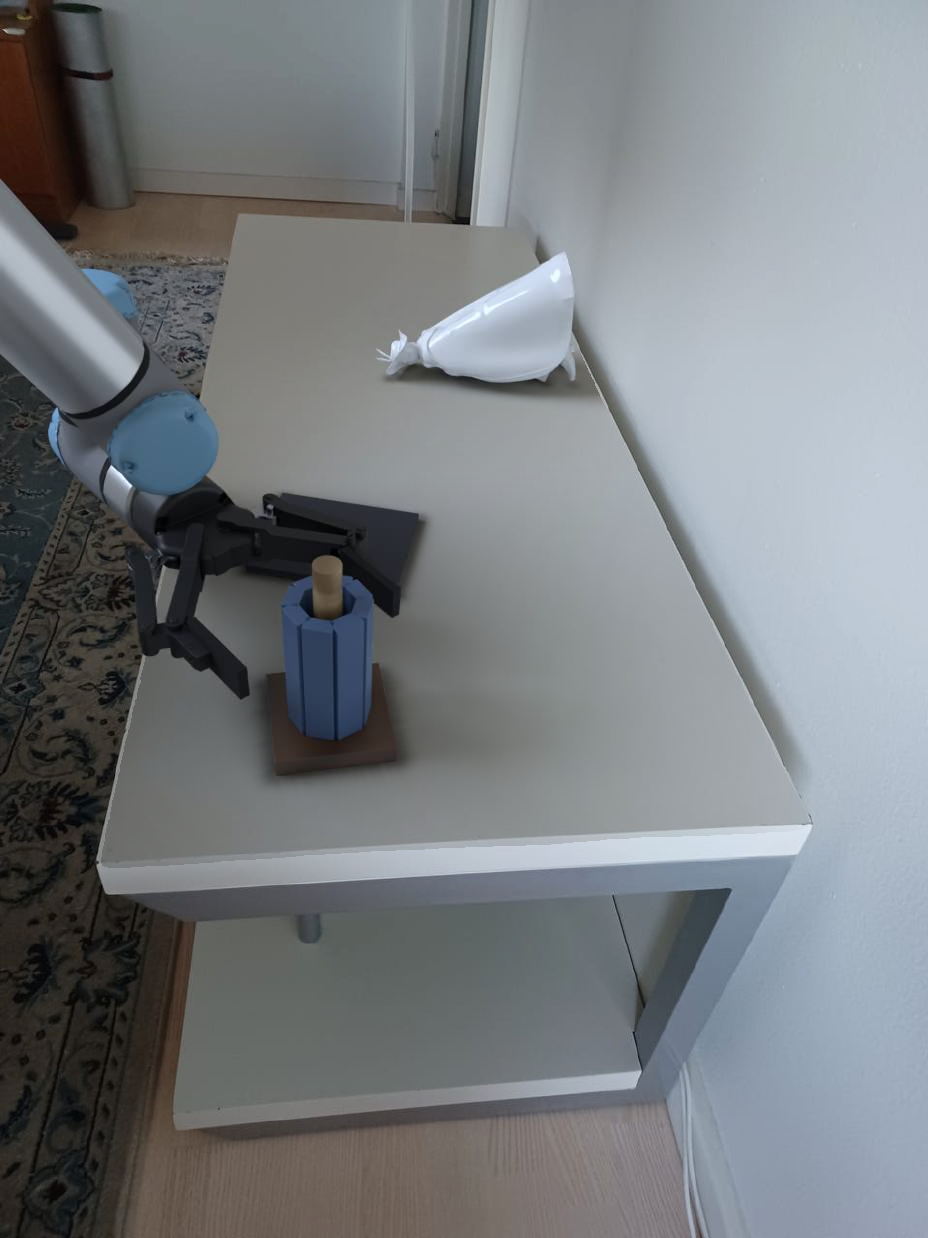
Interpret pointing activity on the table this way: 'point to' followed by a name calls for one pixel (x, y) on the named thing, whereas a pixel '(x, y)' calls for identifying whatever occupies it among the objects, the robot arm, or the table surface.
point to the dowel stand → (353, 749)
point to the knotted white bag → (503, 331)
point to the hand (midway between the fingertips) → (324, 641)
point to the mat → (384, 540)
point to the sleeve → (328, 661)
